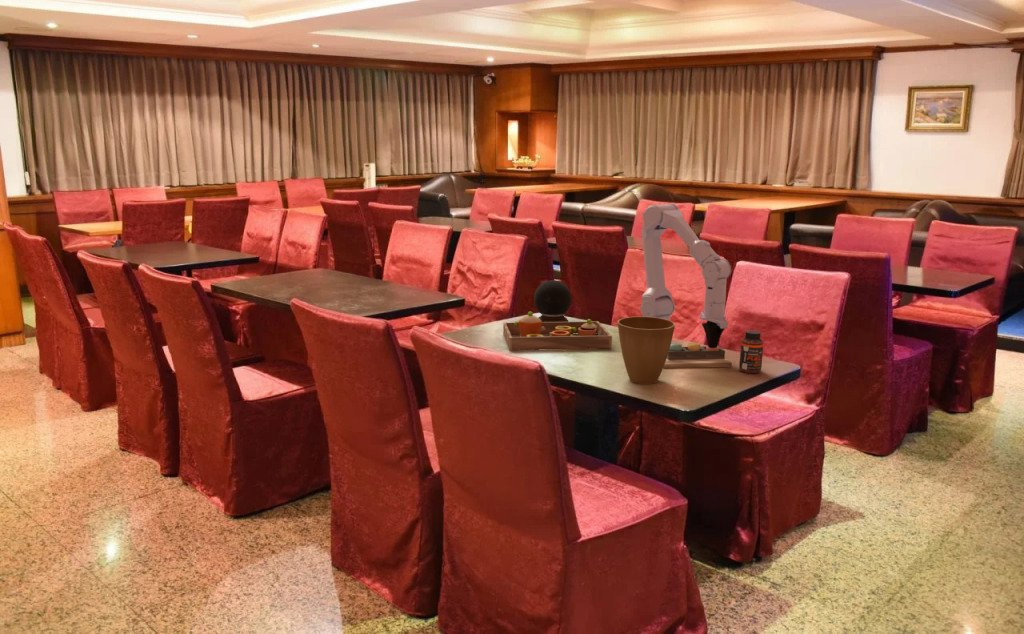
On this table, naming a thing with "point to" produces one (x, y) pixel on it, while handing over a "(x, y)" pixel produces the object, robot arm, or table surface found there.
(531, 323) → the toy tea set
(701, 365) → the button board
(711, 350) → the brick button
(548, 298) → the dark fuzzy ball
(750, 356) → the supplement bottle
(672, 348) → the teal button
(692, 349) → the ochre button
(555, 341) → the tea set tray rim
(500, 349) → the table surface
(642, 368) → the plant pot
